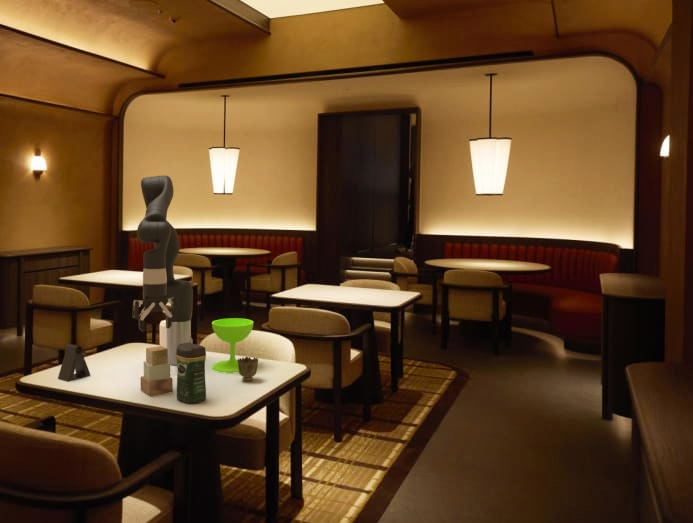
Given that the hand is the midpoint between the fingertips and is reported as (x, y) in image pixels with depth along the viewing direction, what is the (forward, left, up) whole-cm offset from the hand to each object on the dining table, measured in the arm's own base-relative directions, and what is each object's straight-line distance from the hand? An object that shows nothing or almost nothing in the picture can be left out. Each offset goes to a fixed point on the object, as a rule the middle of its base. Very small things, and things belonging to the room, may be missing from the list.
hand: (155, 329), depth 198 cm
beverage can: (-25, -57, -22) cm, 66 cm away
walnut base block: (0, -1, -22) cm, 22 cm away
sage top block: (-1, -1, -17) cm, 17 cm away
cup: (-32, +5, -22) cm, 39 cm away
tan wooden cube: (0, 0, -12) cm, 12 cm away
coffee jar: (-7, +14, -22) cm, 27 cm away
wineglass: (-35, -14, -22) cm, 43 cm away
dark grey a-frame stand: (+19, -32, -22) cm, 43 cm away
